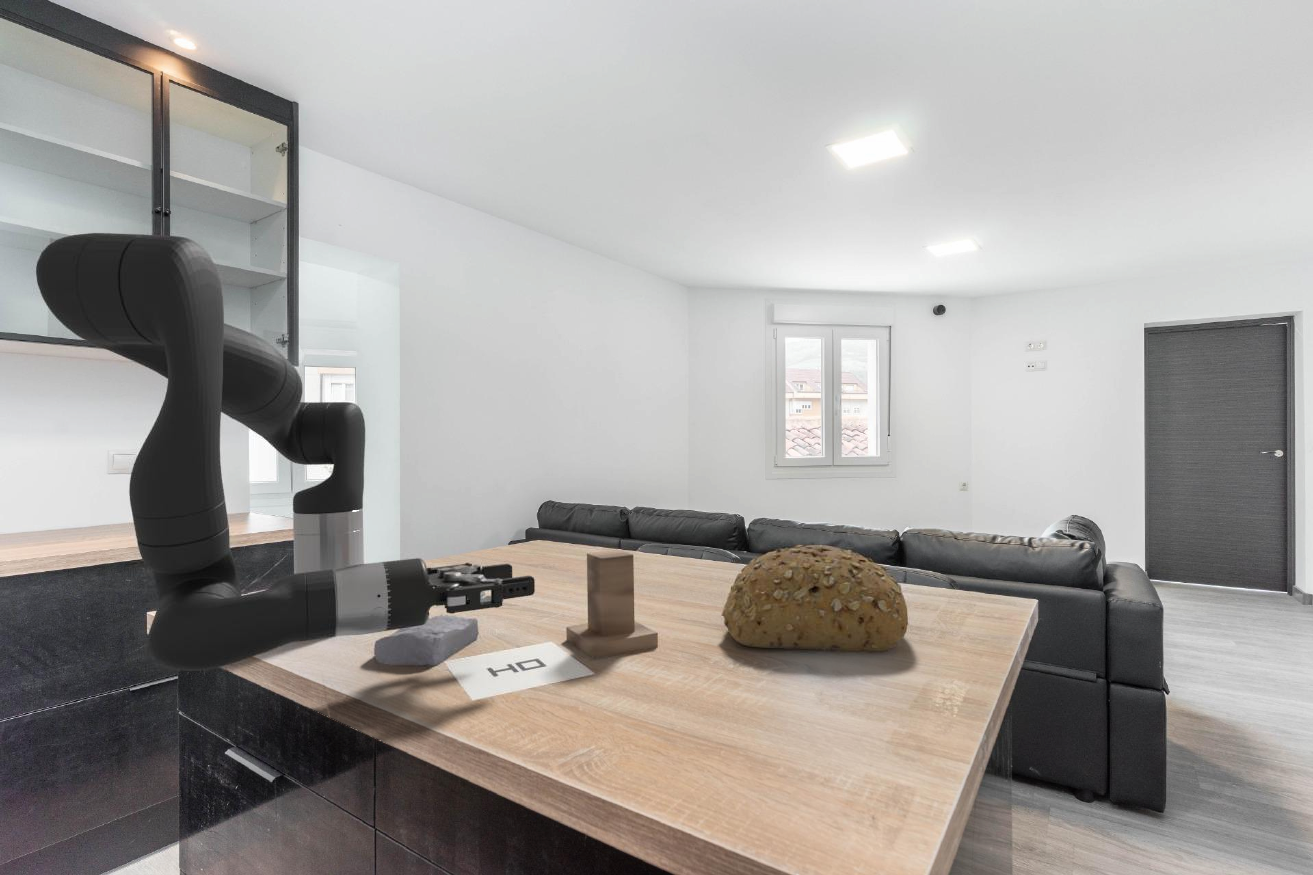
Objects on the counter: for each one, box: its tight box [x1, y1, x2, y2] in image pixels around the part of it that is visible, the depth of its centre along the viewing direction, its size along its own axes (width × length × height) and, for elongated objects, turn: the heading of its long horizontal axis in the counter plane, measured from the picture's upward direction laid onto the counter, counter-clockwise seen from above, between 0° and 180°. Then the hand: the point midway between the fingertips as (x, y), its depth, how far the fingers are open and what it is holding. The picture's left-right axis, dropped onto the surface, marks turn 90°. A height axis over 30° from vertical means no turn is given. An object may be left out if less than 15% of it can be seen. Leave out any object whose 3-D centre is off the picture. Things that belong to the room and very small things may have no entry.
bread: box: [720, 544, 909, 653], centre depth 89 cm, size 24×21×12 cm
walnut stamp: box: [565, 549, 659, 660], centre depth 85 cm, size 9×9×12 cm
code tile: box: [443, 641, 596, 702], centre depth 76 cm, size 14×14×1 cm
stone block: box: [373, 614, 480, 667], centre depth 84 cm, size 12×5×10 cm
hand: (522, 578), depth 79 cm, fingers open, 8 cm apart
